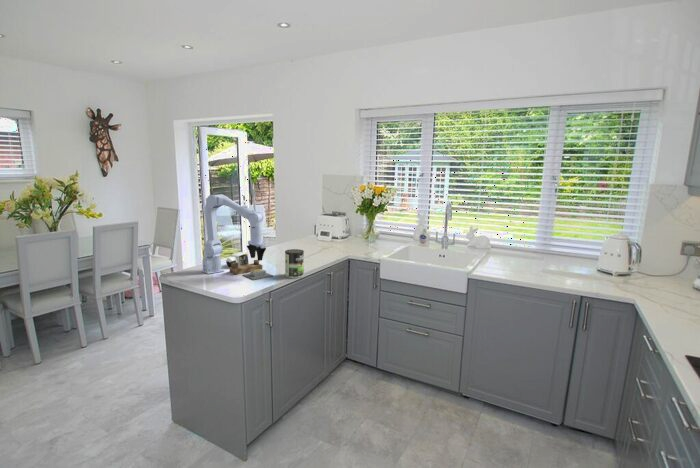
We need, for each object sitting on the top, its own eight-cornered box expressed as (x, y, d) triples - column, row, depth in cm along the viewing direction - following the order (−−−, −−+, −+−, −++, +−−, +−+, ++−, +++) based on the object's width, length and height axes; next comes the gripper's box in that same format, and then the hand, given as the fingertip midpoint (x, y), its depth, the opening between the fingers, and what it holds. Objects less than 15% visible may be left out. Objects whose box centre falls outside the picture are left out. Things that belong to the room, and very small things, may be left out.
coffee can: (307, 275, 209) (307, 250, 206) (295, 279, 200) (295, 253, 198) (293, 272, 214) (293, 248, 212) (281, 276, 205) (281, 251, 203)
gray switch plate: (253, 280, 196) (253, 279, 196) (242, 275, 205) (242, 274, 205) (273, 276, 205) (273, 275, 204) (261, 271, 213) (261, 271, 213)
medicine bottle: (249, 264, 228) (233, 269, 218) (241, 262, 232) (225, 268, 222) (247, 253, 226) (231, 258, 217) (240, 251, 230) (224, 256, 221)
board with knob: (235, 275, 206) (235, 264, 205) (229, 272, 211) (229, 262, 210) (262, 270, 217) (262, 260, 216) (256, 267, 222) (256, 257, 221)
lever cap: (254, 277, 201) (254, 271, 200) (250, 275, 204) (250, 269, 203) (265, 274, 206) (265, 269, 205) (261, 273, 209) (261, 267, 208)
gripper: (269, 235, 199) (269, 260, 201) (255, 232, 210) (256, 255, 212) (257, 237, 194) (258, 262, 197) (244, 233, 205) (244, 257, 207)
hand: (256, 259), depth 204 cm, fingers open, 7 cm apart
